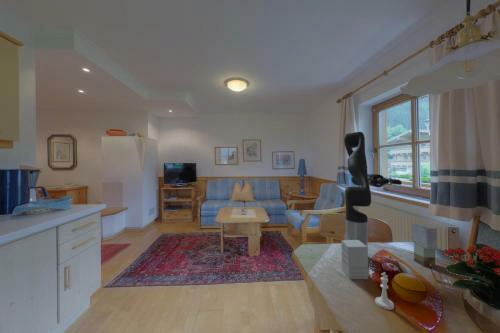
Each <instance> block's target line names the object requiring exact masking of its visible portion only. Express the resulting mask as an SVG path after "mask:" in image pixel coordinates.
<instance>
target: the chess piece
mask: <svg viewBox="0 0 500 333" xmlns="http://www.w3.org/2000/svg"><path fill="white" fill-rule="evenodd" d="M380 274H381V276H382V277H380V281H381V283H380V285H379V286H380V287H381V290H382V291H381V296H377V297H376V298H375V299H374V301H375V302H374V303H375V304H376V305H377V306H378V307H380V308H381V309H385V310H394V309H395V305H394V302H393V301H391V299H389V298H388V292H387V289H389V285H387V284H388V282H389V279H388V276H389V275H387V274H386V272H385V271H384V272H381V273H380Z"/></svg>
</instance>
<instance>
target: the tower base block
mask: <svg viewBox="0 0 500 333" xmlns="http://www.w3.org/2000/svg"><path fill="white" fill-rule="evenodd" d="M413 261H414V262H416V263H417V264H419V265H421V266H422V267H436V256H435V257H422V256H420V255H418V254H416V253H414V252H413ZM430 264H431V265H432V266H430Z"/></svg>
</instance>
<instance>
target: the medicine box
mask: <svg viewBox="0 0 500 333" xmlns="http://www.w3.org/2000/svg"><path fill="white" fill-rule="evenodd" d="M411 231H412V232H411V234H412V235H411V238H412V243H413V244H417V245H420V246H422V247H424V248H426V249H435V250H438V229H437V228H435V227H432V226H429V225H427V224H423V223H412V224H411Z"/></svg>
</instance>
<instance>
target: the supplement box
mask: <svg viewBox="0 0 500 333" xmlns="http://www.w3.org/2000/svg"><path fill="white" fill-rule="evenodd" d="M340 243H341V270H342V271H343V273H344V274H345V276H346V277H347V278H348V279H349V280H369V246H368V247H367V246H366V245H364V244H363V243H362V242H360V241H359V240H344V239H342V240H341V241H340Z"/></svg>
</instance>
